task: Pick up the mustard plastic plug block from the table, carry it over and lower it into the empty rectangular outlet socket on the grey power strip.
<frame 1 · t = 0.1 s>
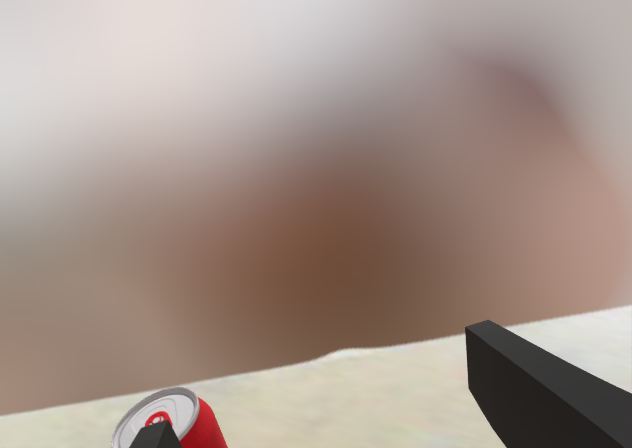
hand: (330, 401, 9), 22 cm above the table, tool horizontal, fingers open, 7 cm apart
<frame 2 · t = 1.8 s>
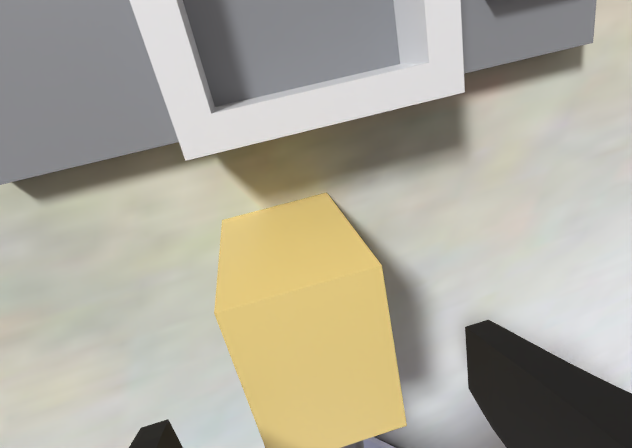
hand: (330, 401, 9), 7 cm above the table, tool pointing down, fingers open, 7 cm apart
plug: (291, 268, 15), on the table
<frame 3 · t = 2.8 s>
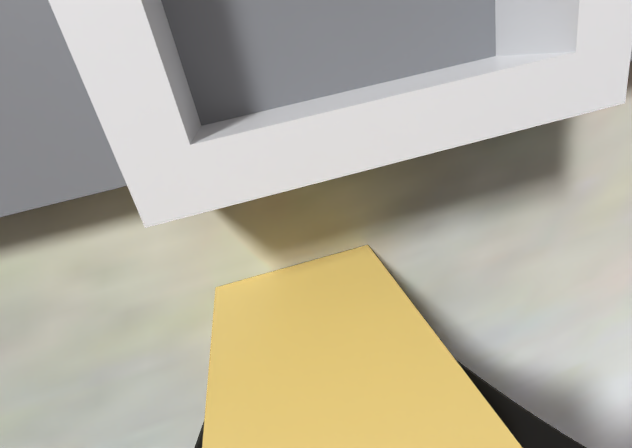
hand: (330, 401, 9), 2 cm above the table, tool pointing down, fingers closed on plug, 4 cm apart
plug: (315, 348, 11), on the table, touching gripper
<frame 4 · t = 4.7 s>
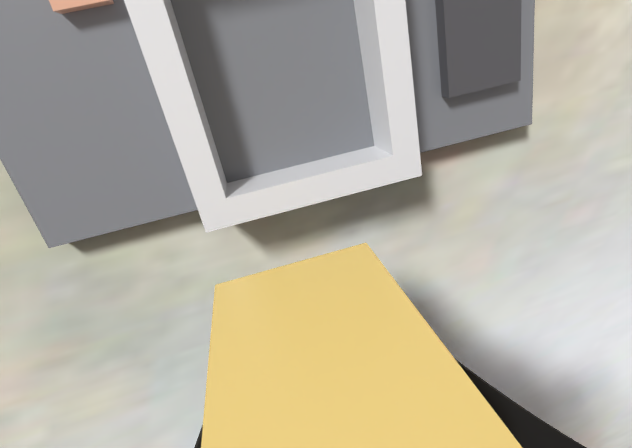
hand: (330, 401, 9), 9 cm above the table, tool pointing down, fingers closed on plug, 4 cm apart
power strip: (276, 63, 15), on the table
plug: (313, 345, 11), point 7 cm above the table, touching gripper
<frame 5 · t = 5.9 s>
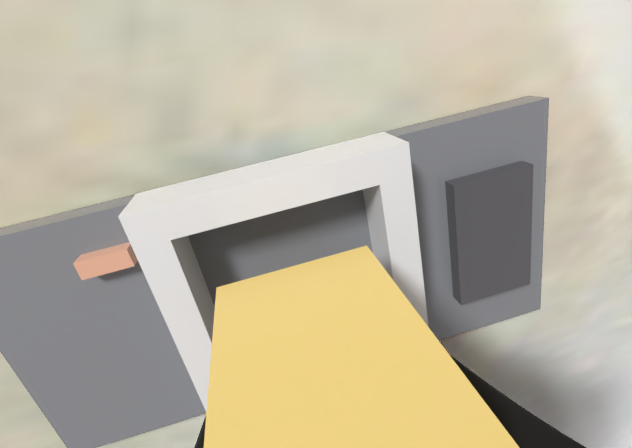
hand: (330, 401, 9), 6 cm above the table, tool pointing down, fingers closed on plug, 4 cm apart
power strip: (293, 273, 15), on the table
plug: (314, 347, 11), point 4 cm above the table, touching gripper
when the fingers open (4 cm above the table, at t = 6.8 s): plug stays where it is, resting on power strip.
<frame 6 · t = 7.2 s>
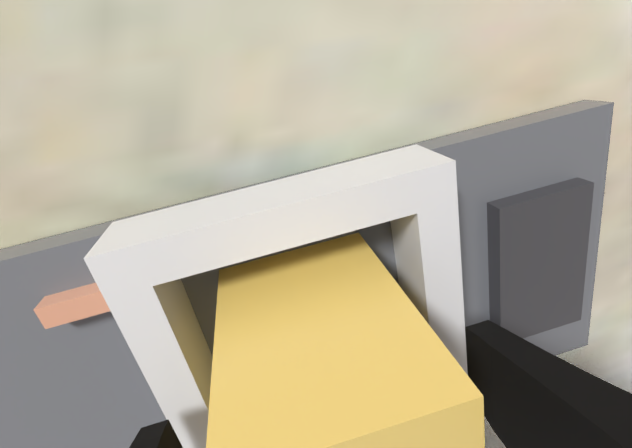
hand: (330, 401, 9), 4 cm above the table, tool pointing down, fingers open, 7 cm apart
power strip: (303, 308, 13), on the table
plug: (309, 328, 12), point 1 cm above the table, touching power strip
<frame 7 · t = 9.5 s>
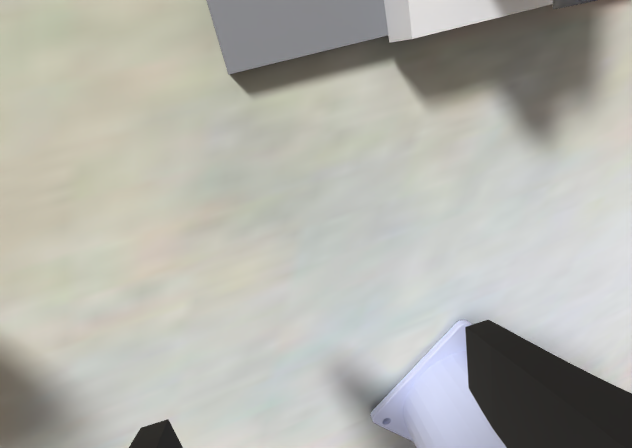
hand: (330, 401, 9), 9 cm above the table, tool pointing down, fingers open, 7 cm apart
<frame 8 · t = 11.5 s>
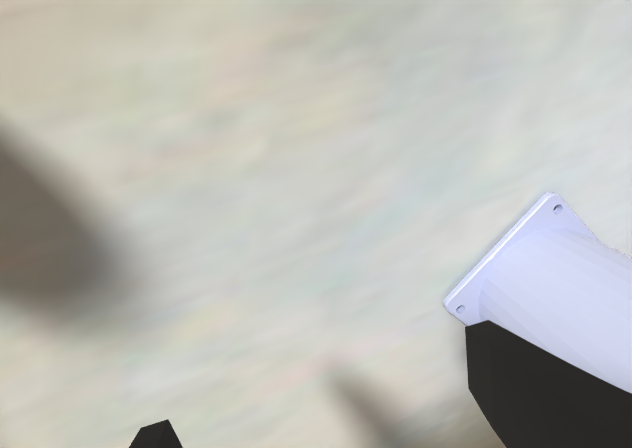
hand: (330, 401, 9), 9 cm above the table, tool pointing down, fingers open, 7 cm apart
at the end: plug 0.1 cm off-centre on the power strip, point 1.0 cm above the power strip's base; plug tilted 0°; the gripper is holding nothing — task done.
